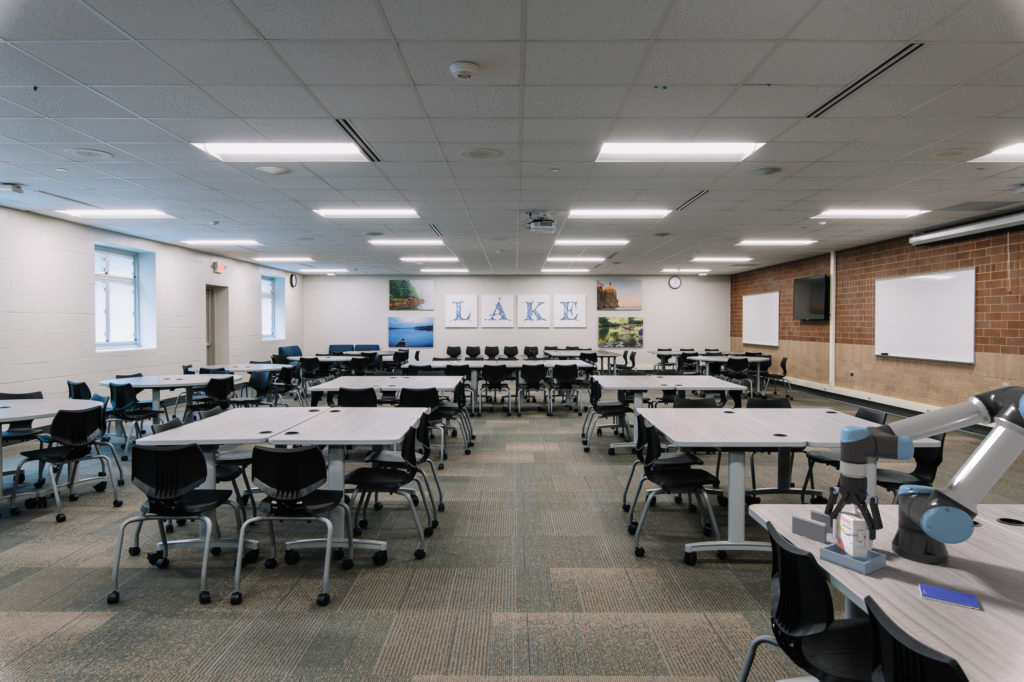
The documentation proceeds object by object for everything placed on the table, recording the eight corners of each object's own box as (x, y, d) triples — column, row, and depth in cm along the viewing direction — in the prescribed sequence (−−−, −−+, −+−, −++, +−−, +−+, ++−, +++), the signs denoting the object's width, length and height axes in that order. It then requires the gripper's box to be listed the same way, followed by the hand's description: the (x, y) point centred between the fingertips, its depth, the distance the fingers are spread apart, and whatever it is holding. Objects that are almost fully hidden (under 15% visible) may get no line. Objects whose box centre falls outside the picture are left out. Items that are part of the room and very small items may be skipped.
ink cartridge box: (836, 545, 176) (837, 502, 175) (851, 546, 176) (852, 502, 175) (852, 556, 167) (853, 510, 167) (868, 557, 167) (869, 511, 167)
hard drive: (921, 594, 149) (979, 606, 142) (918, 582, 155) (974, 594, 149) (921, 599, 149) (979, 612, 142) (918, 587, 155) (973, 599, 149)
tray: (886, 566, 169) (886, 555, 169) (864, 575, 162) (865, 563, 162) (841, 550, 181) (841, 540, 181) (819, 558, 174) (819, 548, 174)
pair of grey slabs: (845, 536, 193) (845, 518, 193) (824, 543, 186) (824, 524, 186) (812, 526, 203) (812, 508, 203) (791, 532, 197) (792, 514, 197)
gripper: (898, 481, 163) (896, 553, 164) (825, 465, 182) (824, 530, 183) (885, 485, 160) (884, 558, 160) (812, 468, 179) (811, 534, 179)
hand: (852, 543), depth 171 cm, fingers closed on ink cartridge box, 9 cm apart
